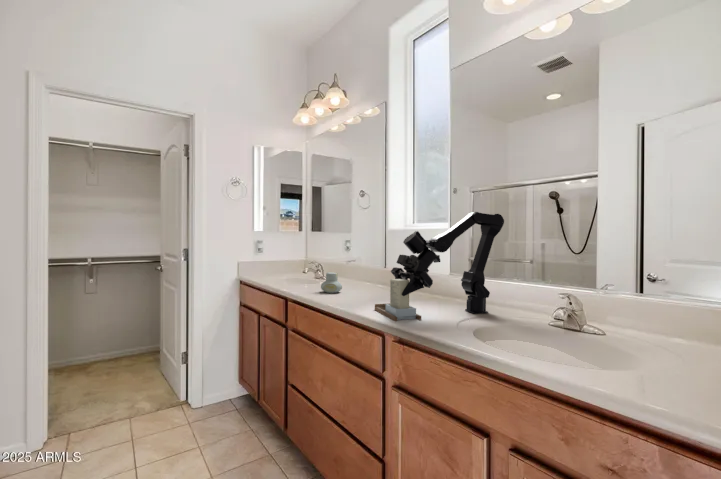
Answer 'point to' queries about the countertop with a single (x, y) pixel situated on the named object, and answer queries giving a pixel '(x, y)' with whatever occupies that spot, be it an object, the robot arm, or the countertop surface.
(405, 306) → the skincare box
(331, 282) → the air freshener
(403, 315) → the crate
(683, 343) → the countertop surface
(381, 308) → the bay
